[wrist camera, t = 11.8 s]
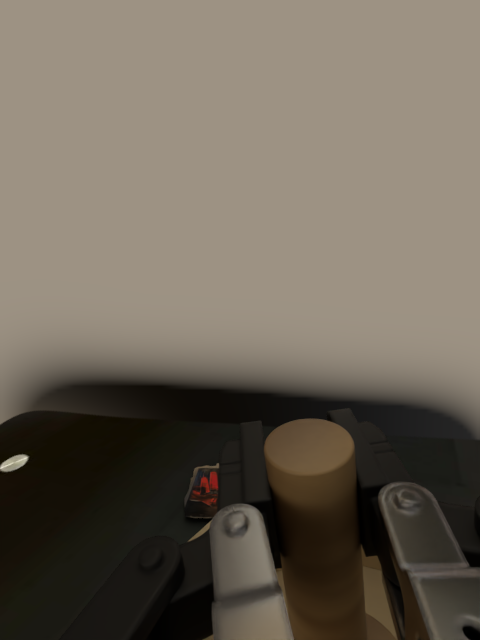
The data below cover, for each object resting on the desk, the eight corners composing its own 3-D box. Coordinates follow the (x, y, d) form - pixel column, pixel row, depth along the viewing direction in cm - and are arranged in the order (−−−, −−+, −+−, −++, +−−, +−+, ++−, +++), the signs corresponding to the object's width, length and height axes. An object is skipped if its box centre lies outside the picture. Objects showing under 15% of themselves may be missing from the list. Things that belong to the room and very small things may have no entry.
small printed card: (184, 527, 24) (182, 521, 24) (186, 470, 29) (185, 465, 29) (260, 512, 24) (259, 506, 24) (250, 459, 29) (249, 453, 29)
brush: (448, 726, 14) (458, 422, 10) (378, 929, 10) (350, 583, 6) (317, 626, 17) (287, 375, 13) (233, 752, 14) (160, 463, 10)
